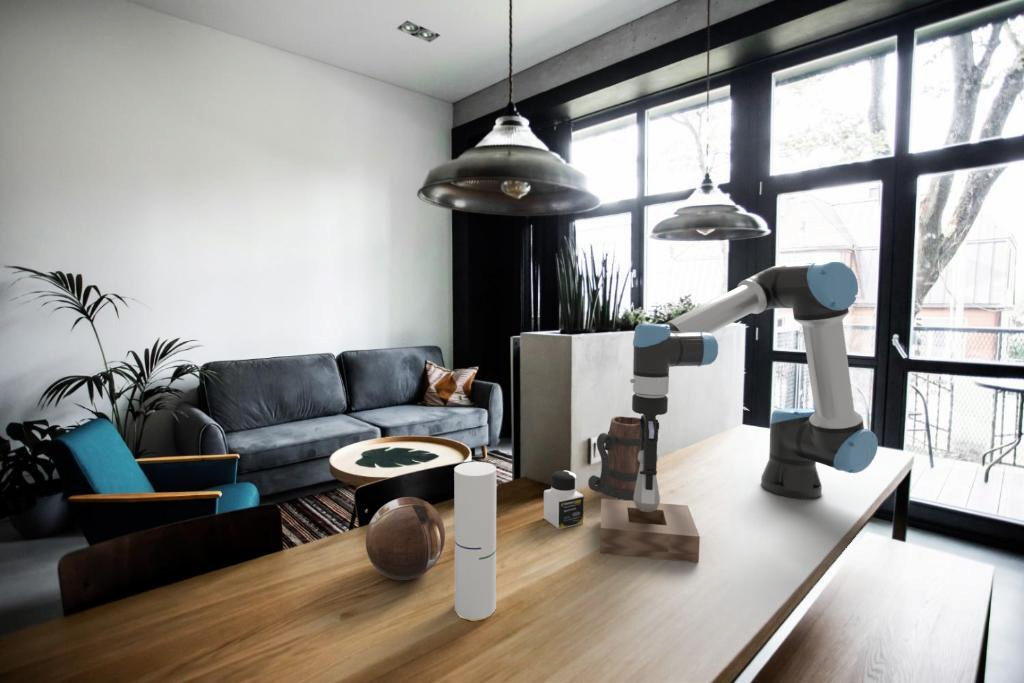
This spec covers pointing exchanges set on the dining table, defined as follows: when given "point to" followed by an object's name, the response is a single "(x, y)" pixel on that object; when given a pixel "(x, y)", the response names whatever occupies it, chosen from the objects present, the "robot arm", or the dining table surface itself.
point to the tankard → (618, 459)
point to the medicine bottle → (563, 501)
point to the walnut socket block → (648, 531)
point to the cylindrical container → (475, 539)
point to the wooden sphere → (405, 538)
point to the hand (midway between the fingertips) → (646, 496)
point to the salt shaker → (638, 490)
